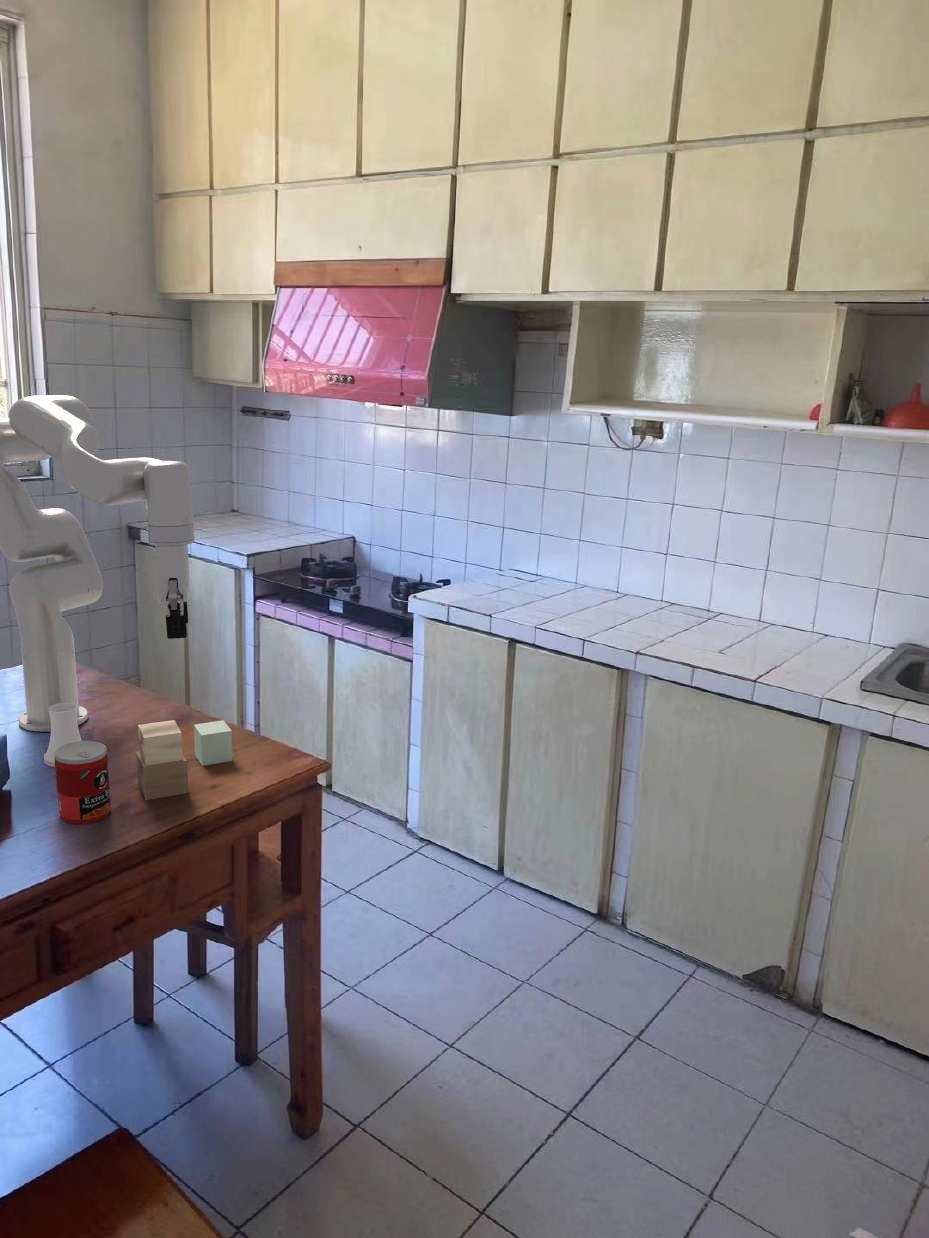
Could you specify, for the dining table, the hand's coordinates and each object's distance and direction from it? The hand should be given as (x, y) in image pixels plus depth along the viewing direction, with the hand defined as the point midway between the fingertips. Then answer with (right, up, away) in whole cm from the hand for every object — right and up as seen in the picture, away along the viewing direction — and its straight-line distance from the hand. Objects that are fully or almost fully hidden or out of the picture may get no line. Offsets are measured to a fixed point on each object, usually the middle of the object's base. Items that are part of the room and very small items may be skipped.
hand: (178, 630), depth 162 cm
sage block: (+4, -24, +9) cm, 25 cm away
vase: (-22, -24, +5) cm, 33 cm away
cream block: (-1, -27, -4) cm, 27 cm away
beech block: (-1, -21, -6) cm, 22 cm away
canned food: (-11, -29, -14) cm, 34 cm away
